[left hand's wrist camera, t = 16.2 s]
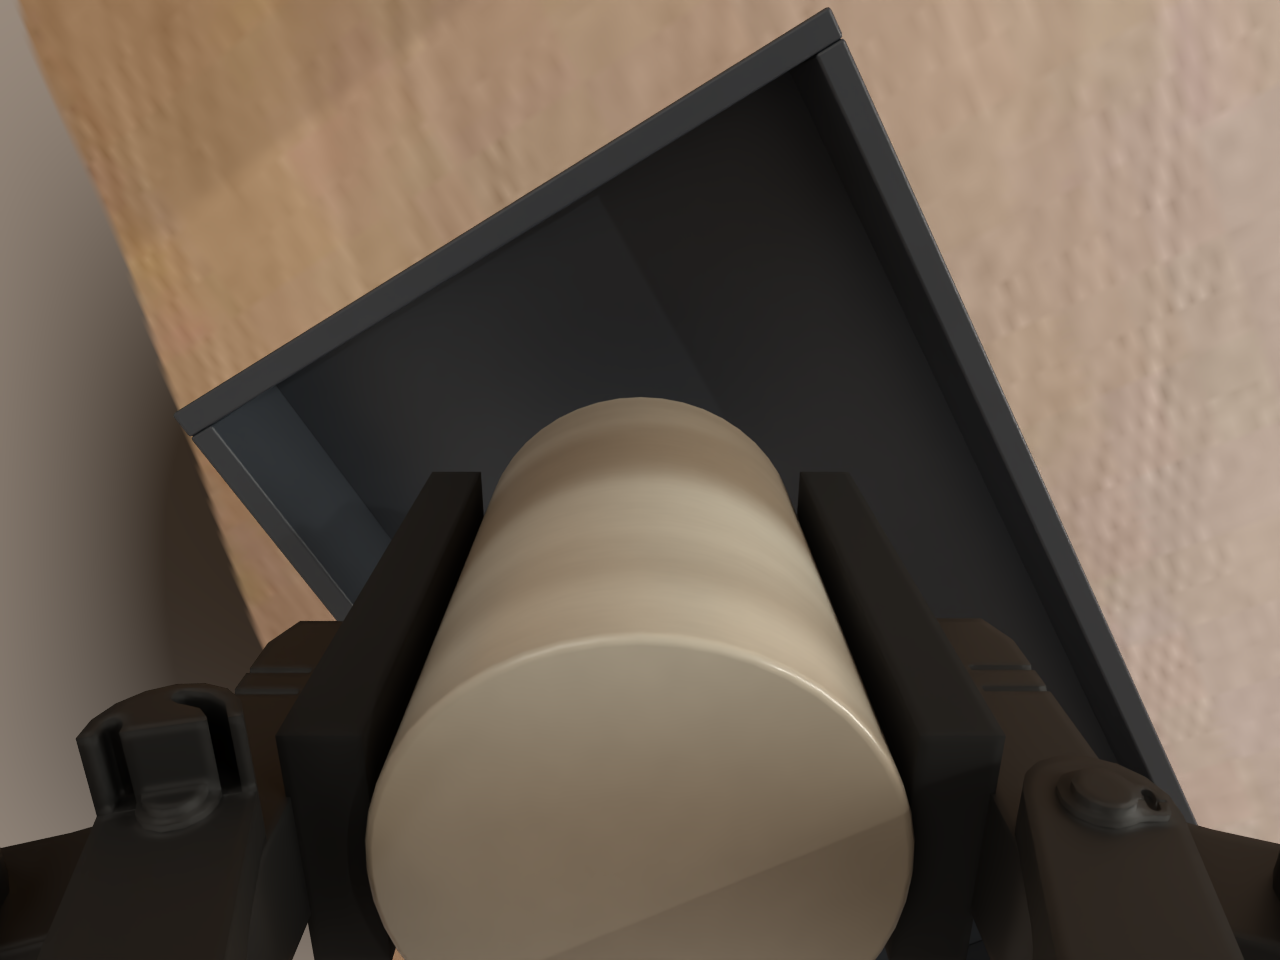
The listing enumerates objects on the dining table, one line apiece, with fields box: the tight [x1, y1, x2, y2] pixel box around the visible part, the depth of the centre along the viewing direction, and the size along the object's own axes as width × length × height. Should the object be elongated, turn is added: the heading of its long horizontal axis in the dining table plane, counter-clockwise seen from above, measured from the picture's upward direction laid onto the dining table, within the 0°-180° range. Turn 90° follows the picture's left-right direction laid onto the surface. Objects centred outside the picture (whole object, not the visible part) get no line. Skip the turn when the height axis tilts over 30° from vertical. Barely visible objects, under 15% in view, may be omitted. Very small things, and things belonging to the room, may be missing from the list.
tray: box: [174, 7, 1198, 960], centre depth 18 cm, size 23×13×9 cm, turn 30°
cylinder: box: [365, 397, 915, 960], centre depth 12 cm, size 5×5×7 cm
